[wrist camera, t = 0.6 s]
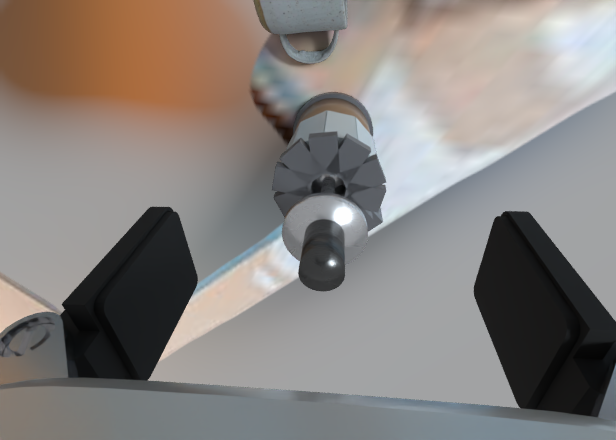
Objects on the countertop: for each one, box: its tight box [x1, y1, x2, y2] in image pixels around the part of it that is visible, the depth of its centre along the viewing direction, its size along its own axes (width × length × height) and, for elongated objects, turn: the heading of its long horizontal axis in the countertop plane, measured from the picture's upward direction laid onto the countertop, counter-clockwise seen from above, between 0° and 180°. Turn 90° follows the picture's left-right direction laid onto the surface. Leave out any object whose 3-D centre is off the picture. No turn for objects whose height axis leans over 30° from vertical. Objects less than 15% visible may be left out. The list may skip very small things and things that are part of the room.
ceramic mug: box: [254, 0, 347, 64], centre depth 32 cm, size 11×8×8 cm
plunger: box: [282, 174, 368, 291], centre depth 26 cm, size 6×6×13 cm
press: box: [272, 92, 386, 231], centre depth 36 cm, size 10×12×15 cm
